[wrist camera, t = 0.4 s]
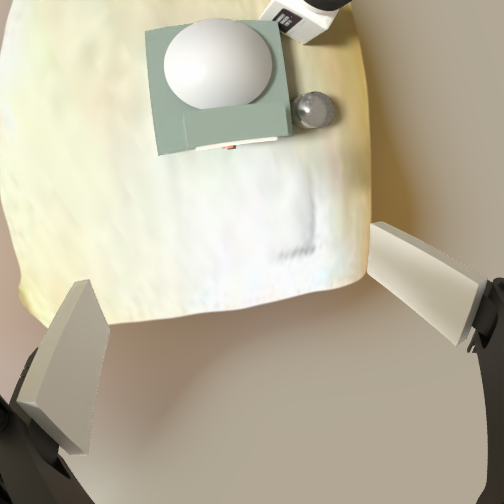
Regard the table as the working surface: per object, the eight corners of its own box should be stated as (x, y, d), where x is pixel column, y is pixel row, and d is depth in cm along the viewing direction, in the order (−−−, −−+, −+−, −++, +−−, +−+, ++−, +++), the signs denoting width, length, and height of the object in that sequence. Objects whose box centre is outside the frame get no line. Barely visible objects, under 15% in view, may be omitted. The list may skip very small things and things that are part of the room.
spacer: (286, 95, 34) (298, 91, 30) (318, 95, 34) (332, 92, 31) (290, 129, 36) (302, 128, 32) (321, 127, 37) (335, 127, 33)
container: (302, 46, 31) (351, 16, 19) (256, 21, 28) (290, -22, 16) (321, 15, 29) (369, -16, 17) (278, -10, 26) (315, -51, 15)
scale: (147, 39, 26) (138, 7, 17) (270, 28, 29) (298, 0, 20) (161, 160, 33) (153, 165, 24) (285, 141, 36) (319, 142, 27)
